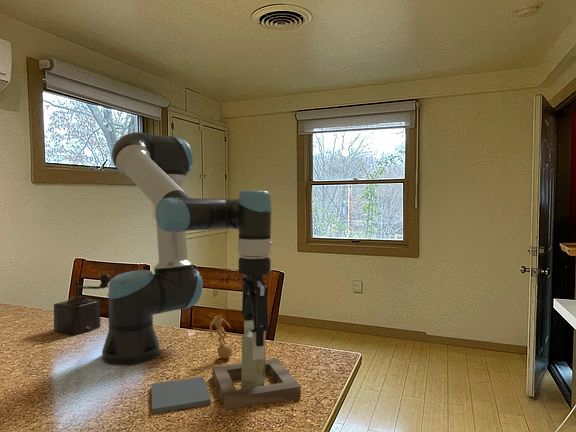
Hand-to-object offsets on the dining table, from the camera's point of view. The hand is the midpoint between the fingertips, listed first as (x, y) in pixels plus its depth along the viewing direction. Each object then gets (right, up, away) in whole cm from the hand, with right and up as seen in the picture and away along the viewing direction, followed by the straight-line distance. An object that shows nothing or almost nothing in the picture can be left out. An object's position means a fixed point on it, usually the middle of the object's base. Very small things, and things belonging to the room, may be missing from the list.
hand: (253, 352), depth 94 cm
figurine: (-10, -8, +18) cm, 22 cm away
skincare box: (0, -8, 0) cm, 8 cm away
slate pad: (-16, -8, -5) cm, 19 cm away
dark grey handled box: (-62, -7, +44) cm, 76 cm away
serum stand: (0, -8, 0) cm, 8 cm away
